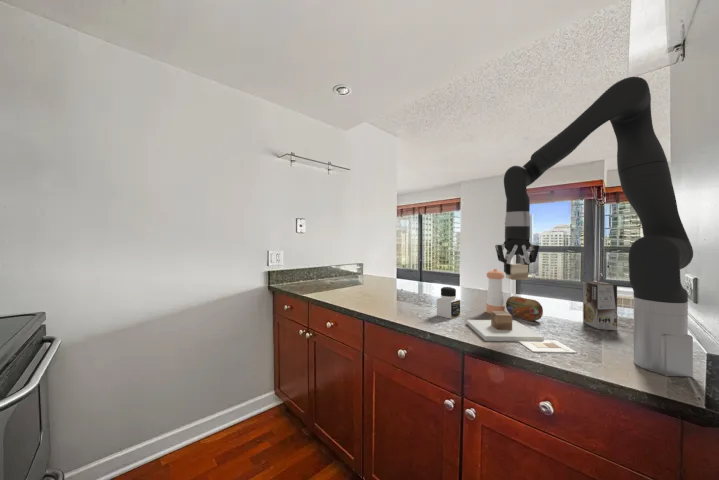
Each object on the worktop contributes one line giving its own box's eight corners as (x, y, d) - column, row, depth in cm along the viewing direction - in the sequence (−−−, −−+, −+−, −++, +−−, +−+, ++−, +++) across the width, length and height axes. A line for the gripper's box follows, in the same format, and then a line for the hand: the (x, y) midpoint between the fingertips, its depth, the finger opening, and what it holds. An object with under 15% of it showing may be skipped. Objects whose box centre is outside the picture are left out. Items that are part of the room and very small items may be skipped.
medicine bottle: (451, 319, 113) (451, 289, 113) (436, 315, 118) (436, 287, 118) (460, 316, 117) (460, 287, 117) (445, 312, 123) (445, 285, 123)
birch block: (527, 280, 93) (528, 265, 93) (512, 279, 94) (512, 264, 94) (520, 277, 98) (520, 263, 98) (505, 277, 99) (506, 263, 99)
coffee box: (618, 330, 98) (618, 284, 98) (597, 329, 99) (597, 284, 99) (601, 323, 107) (601, 281, 107) (582, 322, 108) (582, 280, 108)
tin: (505, 313, 121) (505, 294, 121) (510, 313, 122) (510, 294, 122) (538, 323, 106) (538, 301, 106) (544, 322, 108) (544, 301, 108)
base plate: (543, 341, 88) (543, 337, 88) (485, 340, 88) (485, 336, 88) (514, 324, 106) (514, 320, 106) (466, 323, 106) (466, 319, 106)
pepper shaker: (493, 315, 118) (493, 270, 118) (482, 310, 125) (482, 268, 125) (508, 314, 120) (508, 269, 120) (496, 310, 127) (496, 268, 127)
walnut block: (512, 330, 94) (512, 315, 94) (497, 329, 95) (497, 315, 95) (505, 325, 99) (505, 311, 99) (491, 325, 100) (490, 311, 100)
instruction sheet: (576, 353, 79) (576, 351, 79) (533, 352, 79) (533, 350, 79) (555, 341, 88) (555, 340, 88) (516, 340, 88) (516, 339, 88)
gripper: (500, 225, 92) (499, 275, 93) (545, 225, 91) (544, 276, 92) (491, 225, 100) (490, 272, 100) (533, 225, 99) (532, 273, 99)
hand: (516, 274), depth 96 cm, fingers closed on birch block, 5 cm apart
